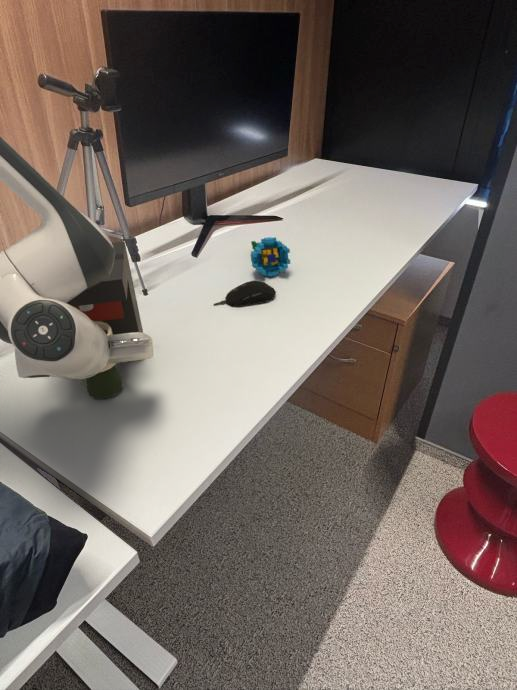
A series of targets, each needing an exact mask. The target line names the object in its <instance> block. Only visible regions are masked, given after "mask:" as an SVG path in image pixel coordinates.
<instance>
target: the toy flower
mask: <svg viewBox="0 0 517 690" xmlns="http://www.w3.org/2000/svg"><path fill="white" fill-rule="evenodd" d="M250 243H251V248H252V250H253V251H251V250H250V262H251V267H252V268H253V269H255V270H256V271H257V272H258V273H260V274H261V275H262V276H264V277H276V276H277V275H279V273H284V272H285V270H288V269H289V265H291V259H289V254H291V250H290V248H289V247H288V246H287V245H285V244H284V243H283V242H282V241H280V240H277V237H275V236H274V237H271V236H270V237H263V238H260V241H259V242H257V241H255V240H252V241H250Z"/></svg>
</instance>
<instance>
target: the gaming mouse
mask: <svg viewBox="0 0 517 690" xmlns="http://www.w3.org/2000/svg"><path fill="white" fill-rule="evenodd" d="M276 293H277V291H276V290H275V288H274V287H273V286H271V285H270V284H268V283H266V282H264V281H260V280H250V281H246V282H243V283H242V284H240V285H237V286H236V287H234V288H232V289H231V290H230V291H229V292H227V294H226V296H225V298H224V299H223V300H221V301H218V302H214V303H213V306H218V305H222V304H225V303H227V304H229V305H230V306H232V307H244V306H251V305H257V304H264V303H266V302H269V301H271V300H273V299H274V298H275V296H276Z"/></svg>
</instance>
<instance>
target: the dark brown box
mask: <svg viewBox="0 0 517 690" xmlns="http://www.w3.org/2000/svg"><path fill="white" fill-rule="evenodd" d="M111 243H112V245H113V248H114V249H115V259H114V265H113V268H112V271H111V274H110V276H109V277H108V278H107V279H105V280H103V281H101V282H100V283H98V284H96V285H94V286H93V287H91V288H89V289H88V288H87V289H86V290H84V291H83V292H81V293H80V294H79V295H77V296H76V297H74V298H73V299H72V300H70V301H69V302H67V304H69V305H71V306H73V307H75V308H77V309H78V310H80V311H81V312H83V313H84V314H85V315H87V316H88V317H89V318H90V319H91V320H92V321H101V322H104V323H107V324H108V325H109V326H110V327H111V330H112V334H113V335H116V334H124V333H133V332H141V333H144V329H143V325H142V320H141V319H142V318H141V315H140V309H139V306H138V300H137V295H136V290H135V284H134V280H133V276H132V271H131V266H130V260H129V256H128V251H127V245H126V241H124V240H123V241H113V242H112V241H111ZM144 360H145V359H142V360H141V361H144ZM136 361H138V360H135V361H134V362H136ZM126 363H128V361H127V362H126Z"/></svg>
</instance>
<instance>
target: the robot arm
mask: <svg viewBox="0 0 517 690" xmlns="http://www.w3.org/2000/svg"><path fill="white" fill-rule="evenodd" d="M0 181H1V182H2V184H4V186H5V187H7V188H8V189H9V190H10V191H11V192H13V193H14V194H15V195H16V196H17V197H18V198H19V199H20V200H21V201H22V202H23V203H25V205H27V206H28V207H29V208H30V209H31V210H32V211H33V212H34V213H35V214H37V215H38V217H39V218H40V225H39V226H38V227H37V228H36V229H34V230H33V231H31V232H30V233H29V234H27V235H26V236H24V237H23V238H20V239H19V240H18V241H16V242H15V243H14V244H12V245H11V246H9V247H8V248H6V249H3V250H1V251H0V340H1V341H3V342H4V343H7V344H9V345H12V346H13V347H14V357H15V366H16V371H17V375H18V377H19V378H21V379H35V378H50V377H52V378H60V379H61V378H62V379H67V378H69V379H73V380H85V379H86V378H89V377H92V376H94V375H96V374H97V373H99V372H100V371H101V370H102V369H103V368H104V367H105V365H106V364H112V363H116V364H121V363H120V362H122V363H128V362H127V361H129V362H136V361H135V360H137V361H143V360H142V359H144V360H149V359H151V358H153V357H154V355H155V354H154V346H153V339H152V337H151V336H150V335H149V334H146V333H145V332H143V333H141V332H133V333H124V334H116V335H108V336H107V334H106V333H105V332H104V330H103V329H102V328H100V327H99V326H98V325H97V324H96V323H95V322H93V321H92V320H91V319H90V318H89V317H88V316H87V315H85V314H84V313H83V312H81V311H80V310H78V309H77V308H75V307H73V306H71V305H69V304H67V302H69V301H70V300H72V299H73V298H74V297H76V296H77V295H79V294H80V293H81V292H83V291H84V290H86V289H87V288H88V289H89V288H91V287H93V286H94V285H96V284H98V283H100V282H101V281H103V280H105V279H107V278H108V277H109V276H110V274H111V271H112V268H113V265H114V259H115V249H114V248H113V245H112V241H111V239H110V237H109V235H108V234H107V233H106V232H105V231H104V229H103V228H102V227H101V226H100V225H99V224H98V223H97V222H95V221H94V220H93V219H92V218H90V217H89V216H88V215H86V214H85V213H83V212H82V211H80V210H79V209H78V208H76V207H75V206H74V205H73V204H71V203H70V201H68V200H67V199H66V198H65V197H64V196H63V195H62V194H61V193H60V192H59V191H58V189H56V188H55V187H54V186H53V185H52V184H51V183H50V182H49V181H48V180H47V179H46V178H45V177H44V176H43V175H42V174H41V173H40V172H39V171H38V170H37V169H36V168H35V167H34V166H32V164H31V163H29V162H28V160H26V159H25V157H23V156H22V155H21V154H20V153H19V152H18V151H17V150H16V149H15V148H14V147H12V145H11V144H9V142H7V140H6V139H4V138H3V137H1V136H0Z"/></svg>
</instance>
